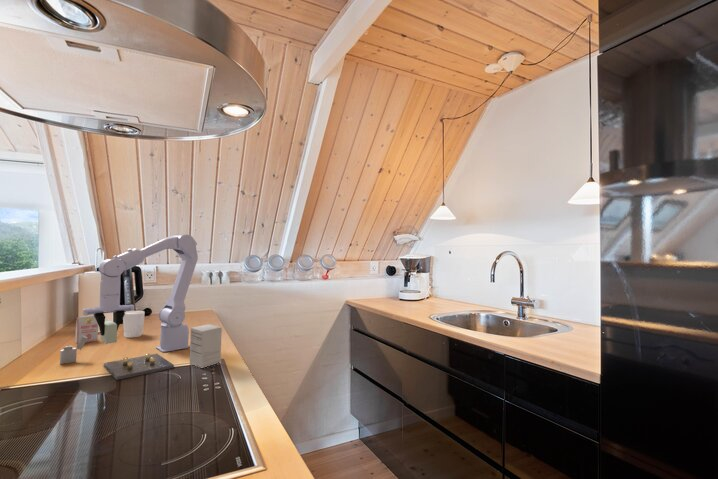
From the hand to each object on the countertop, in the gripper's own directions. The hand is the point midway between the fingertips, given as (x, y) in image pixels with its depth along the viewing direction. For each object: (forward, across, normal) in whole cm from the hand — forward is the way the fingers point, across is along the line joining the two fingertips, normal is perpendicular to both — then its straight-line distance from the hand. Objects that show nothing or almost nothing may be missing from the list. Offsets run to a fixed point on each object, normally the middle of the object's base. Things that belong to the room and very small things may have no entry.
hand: (108, 333), depth 125 cm
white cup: (+9, -15, -30) cm, 35 cm away
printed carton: (+9, +1, -32) cm, 33 cm away
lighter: (+9, +8, -6) cm, 14 cm away
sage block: (+2, 0, 0) cm, 2 cm away
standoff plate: (+9, -6, +14) cm, 18 cm away
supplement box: (+9, -23, +25) cm, 35 cm away
